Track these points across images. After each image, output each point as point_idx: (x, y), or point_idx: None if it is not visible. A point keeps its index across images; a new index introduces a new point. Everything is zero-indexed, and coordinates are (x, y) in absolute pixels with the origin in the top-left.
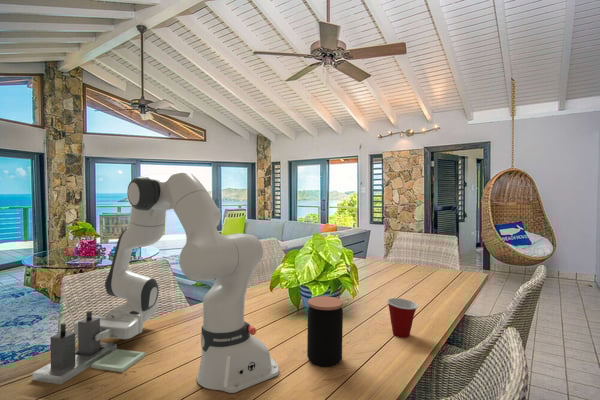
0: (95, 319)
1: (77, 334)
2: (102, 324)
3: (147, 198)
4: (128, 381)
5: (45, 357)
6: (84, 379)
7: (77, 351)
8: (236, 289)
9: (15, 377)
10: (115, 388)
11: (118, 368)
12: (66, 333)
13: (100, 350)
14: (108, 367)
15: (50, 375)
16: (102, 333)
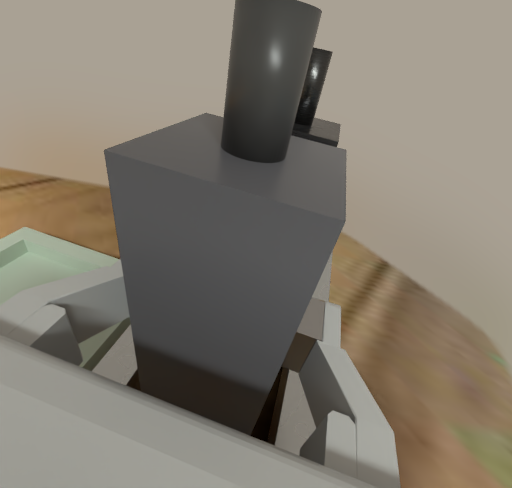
0: (167, 136)
1: (335, 306)
2: (96, 439)
3: None
4: (19, 209)
5: (492, 459)
6: None
7: (290, 374)
8: None
9: (401, 288)
10: (67, 194)
11: (40, 232)
12: (296, 126)
13: (135, 369)
14: (83, 249)
15: None
16: (98, 274)
